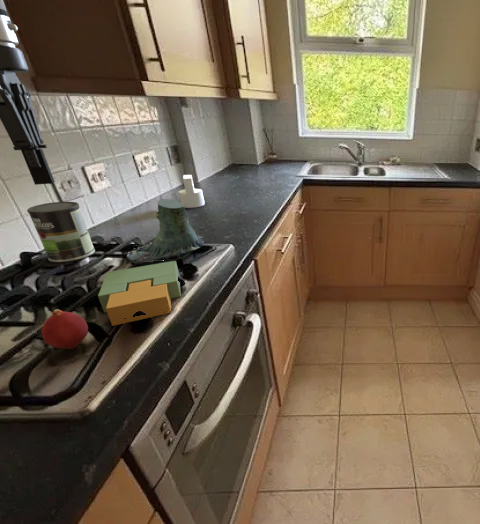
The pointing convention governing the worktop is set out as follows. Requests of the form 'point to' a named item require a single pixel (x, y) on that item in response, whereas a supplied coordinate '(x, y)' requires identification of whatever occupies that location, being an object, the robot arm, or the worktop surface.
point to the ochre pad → (138, 302)
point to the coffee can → (62, 231)
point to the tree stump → (170, 235)
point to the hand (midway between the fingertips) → (45, 183)
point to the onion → (64, 330)
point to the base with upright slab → (191, 194)
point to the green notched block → (140, 280)
